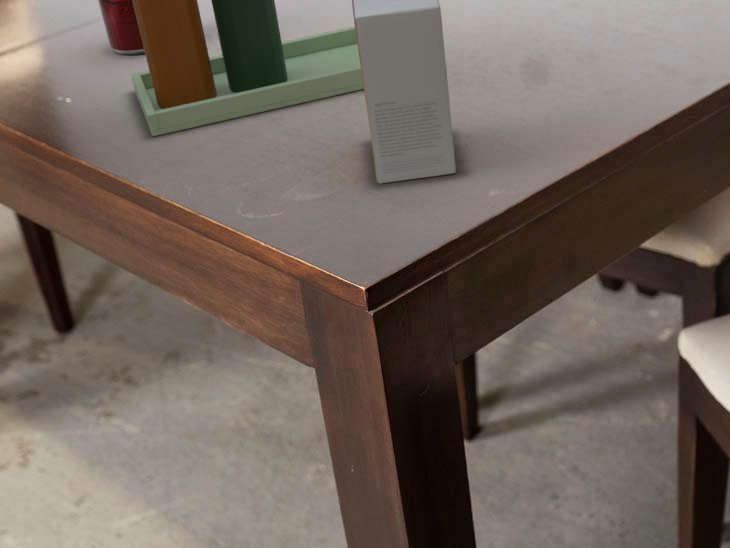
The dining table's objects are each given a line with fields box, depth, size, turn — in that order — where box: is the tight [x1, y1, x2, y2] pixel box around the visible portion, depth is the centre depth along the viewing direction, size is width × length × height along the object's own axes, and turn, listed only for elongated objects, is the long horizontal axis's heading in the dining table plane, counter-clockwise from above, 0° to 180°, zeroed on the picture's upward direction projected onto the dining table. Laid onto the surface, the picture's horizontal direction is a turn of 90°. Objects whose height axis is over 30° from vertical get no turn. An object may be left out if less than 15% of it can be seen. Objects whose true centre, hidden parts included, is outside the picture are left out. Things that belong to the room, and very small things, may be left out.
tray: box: [130, 25, 364, 137], centre depth 106 cm, size 26×13×2 cm, turn 108°
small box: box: [351, 0, 457, 185], centre depth 85 cm, size 8×6×13 cm
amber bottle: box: [132, 0, 217, 109], centre depth 101 cm, size 6×6×15 cm
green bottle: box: [211, 0, 288, 93], centre depth 102 cm, size 6×6×15 cm
